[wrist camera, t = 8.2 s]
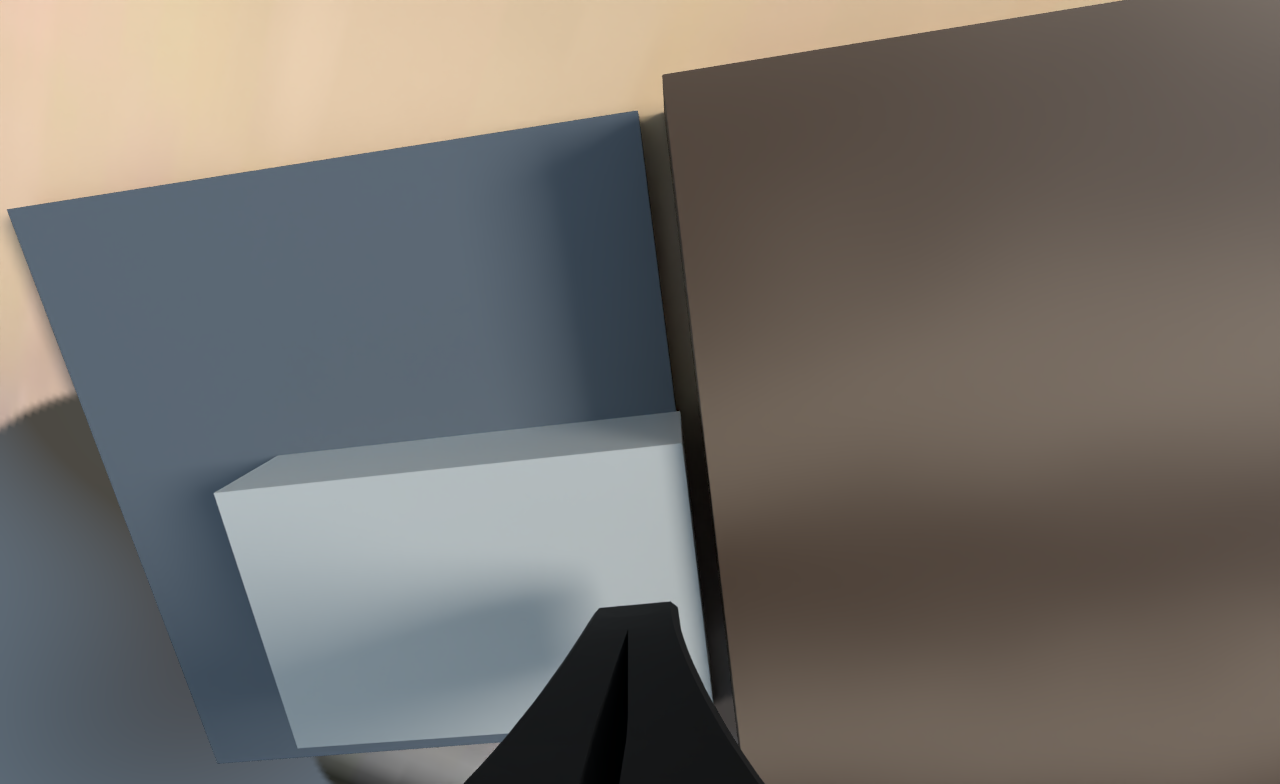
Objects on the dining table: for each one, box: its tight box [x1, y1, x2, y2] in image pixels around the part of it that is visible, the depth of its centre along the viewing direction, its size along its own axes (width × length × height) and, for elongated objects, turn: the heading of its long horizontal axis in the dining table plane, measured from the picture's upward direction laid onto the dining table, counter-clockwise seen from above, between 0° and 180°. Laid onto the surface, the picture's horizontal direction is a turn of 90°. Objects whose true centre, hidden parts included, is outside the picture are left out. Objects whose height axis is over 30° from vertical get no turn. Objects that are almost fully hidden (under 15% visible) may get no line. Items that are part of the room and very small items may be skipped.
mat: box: [7, 111, 676, 764], centre depth 14 cm, size 14×13×1 cm
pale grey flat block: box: [214, 411, 713, 748], centre depth 13 cm, size 9×6×2 cm, turn 97°
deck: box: [662, 0, 1280, 784], centre depth 12 cm, size 18×14×3 cm
